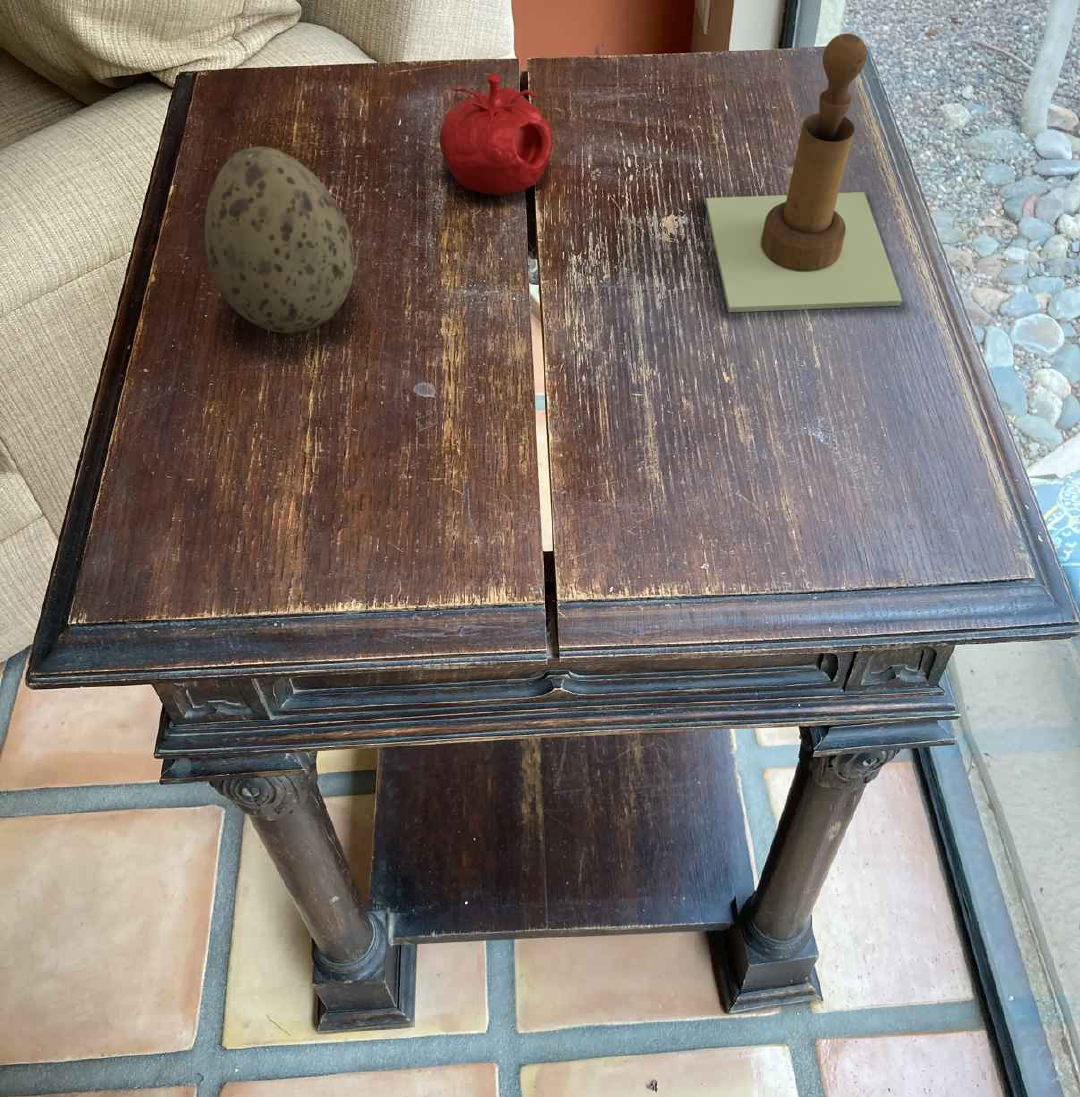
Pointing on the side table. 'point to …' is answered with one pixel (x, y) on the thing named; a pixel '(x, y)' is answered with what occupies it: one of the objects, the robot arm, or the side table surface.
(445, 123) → the red tomato
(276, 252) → the decorative egg
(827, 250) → the mortar and pestle
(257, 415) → the side table surface
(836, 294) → the mat
